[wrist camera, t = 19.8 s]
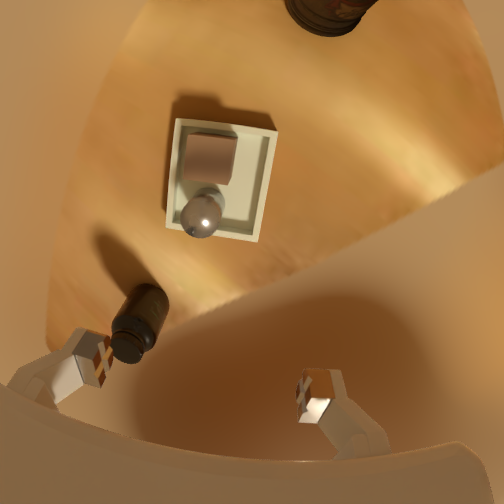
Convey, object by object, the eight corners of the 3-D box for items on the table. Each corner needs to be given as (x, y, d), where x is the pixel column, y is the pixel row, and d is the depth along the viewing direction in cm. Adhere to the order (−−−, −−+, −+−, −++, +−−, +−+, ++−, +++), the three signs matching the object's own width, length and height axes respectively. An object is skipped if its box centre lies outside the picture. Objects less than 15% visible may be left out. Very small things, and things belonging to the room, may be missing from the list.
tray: (180, 118, 34) (175, 118, 32) (277, 131, 34) (278, 131, 32) (170, 221, 40) (165, 227, 38) (257, 235, 40) (257, 242, 38)
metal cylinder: (193, 185, 37) (181, 197, 31) (227, 189, 37) (221, 203, 31) (189, 217, 39) (178, 234, 33) (222, 222, 39) (216, 240, 33)
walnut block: (197, 131, 34) (187, 134, 29) (238, 137, 34) (234, 140, 29) (192, 170, 36) (182, 179, 31) (231, 176, 36) (227, 185, 32)
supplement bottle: (135, 316, 47) (109, 365, 36) (126, 281, 44) (95, 329, 33) (173, 318, 47) (153, 372, 36) (166, 283, 44) (142, 334, 33)
